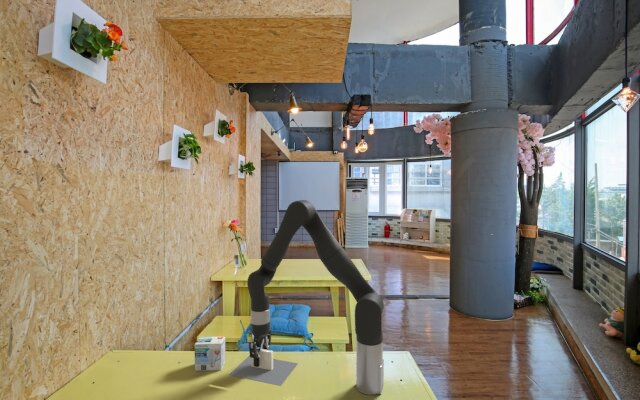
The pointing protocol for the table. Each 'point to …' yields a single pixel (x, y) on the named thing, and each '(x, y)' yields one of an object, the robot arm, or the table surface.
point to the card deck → (264, 359)
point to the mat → (265, 371)
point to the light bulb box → (209, 353)
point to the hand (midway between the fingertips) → (260, 361)
